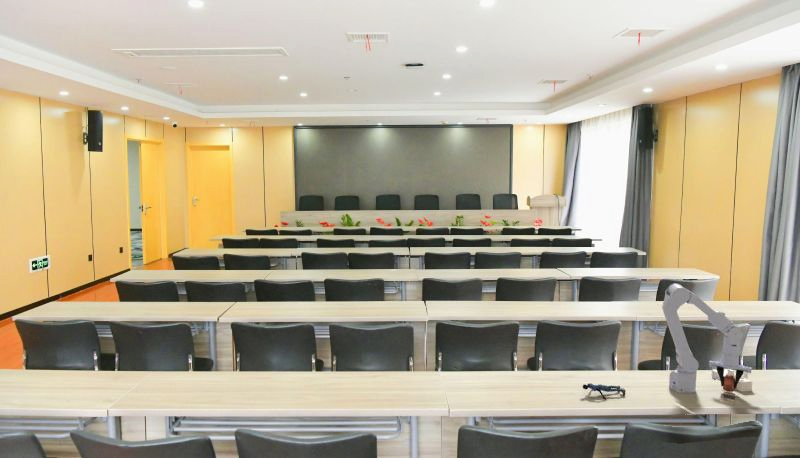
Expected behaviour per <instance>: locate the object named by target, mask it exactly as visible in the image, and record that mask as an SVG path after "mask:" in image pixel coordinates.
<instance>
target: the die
mask: <svg viewBox="0 0 800 458" xmlns="http://www.w3.org/2000/svg"><path fill="white" fill-rule="evenodd" d="M735 390H737V391H739V392H750V391H751V392H752V390H753V381H752V380H750V379H749V378H748V379H746V378H744V377H741V378H740V380H739V382H738V384H737V388H736V389H735Z"/></svg>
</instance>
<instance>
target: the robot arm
mask: <svg viewBox="0 0 800 458" xmlns="http://www.w3.org/2000/svg"><path fill="white" fill-rule="evenodd" d="M664 293H665V294H664V298H663V302H662V307H661V308H662V311H663V314H664V318H665V321H666V323H667V326H668V330H669V333H670V334H671V338H672V340H673V344H674V347H675V352H676V353H675V354H676V355H675V360H676V362H677V366H676V369H674V370H672V371H671V372H670V373H669V382H668V388H669V389H671V390H673V391H674V392H677V393H679V394H682V393H683V394H684V393H695V392H696V386H697V371H698V370H699V367H700V364H699V361H698V360H697V359H696V358H695V356H694V355H693V352H692V351H691V349H690V346H689V343H688V341H687V338H686V337H687V336H686V334H685V331H684V329H683V325H682V323H681V322H682V321H681V320H680V317H679V314H678V310H679V308H680V307H681V306H683V305H684V304H685V303H687V304H689V305H694V306H695V307H696V308H697V309H699V310H700V311H701V312H702V313H703V314H705V315H706V316H707V321H708V322H709V323H710V324H712V325H713V326H714V327H715V328H716V329H717V330H719V331H720V332H721V333H722V335H724V336H723V342H722V343H723V344H722V355H721V357H722V358H721V361H720V360H719V361H718V360H717V361H716V360H715V361H714V360H709V364H708V366H709V367H713V368H716V370H717V372H718V375H719V377H720V380H719V381H720V385H721V387H723V380H724V369H727V370H728V369H731V370H733V371H735V374H736V378H735V386H734V389H735V390H737V389H736V388H737V384H738V382H739V380H740V378H741V377H742V375H743V372H748V374H752V367H751V366H746V365H742V364H739V363H740V349H741V348H740V347H741V340H742V338H743V337H744V333H743V330H742V329H741V328H740V327H739V326H737V325H736V324H735V321H734V320H731V319H729V318H728V317H727V316H726V313H725V312H723V311H720V310H713V309H712V307H710V306H709V304H707V303H706V302H704V301H703V300H702V299H701V298H700V297H699V296H698V295H697V294H696V293H693V292H692V291H690V290H689V289H687V288H686V287H683V286H682V285H681V284H680V283H672V284H670V285H669V286H668V287H667V288H666V289H665V292H664Z"/></svg>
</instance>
